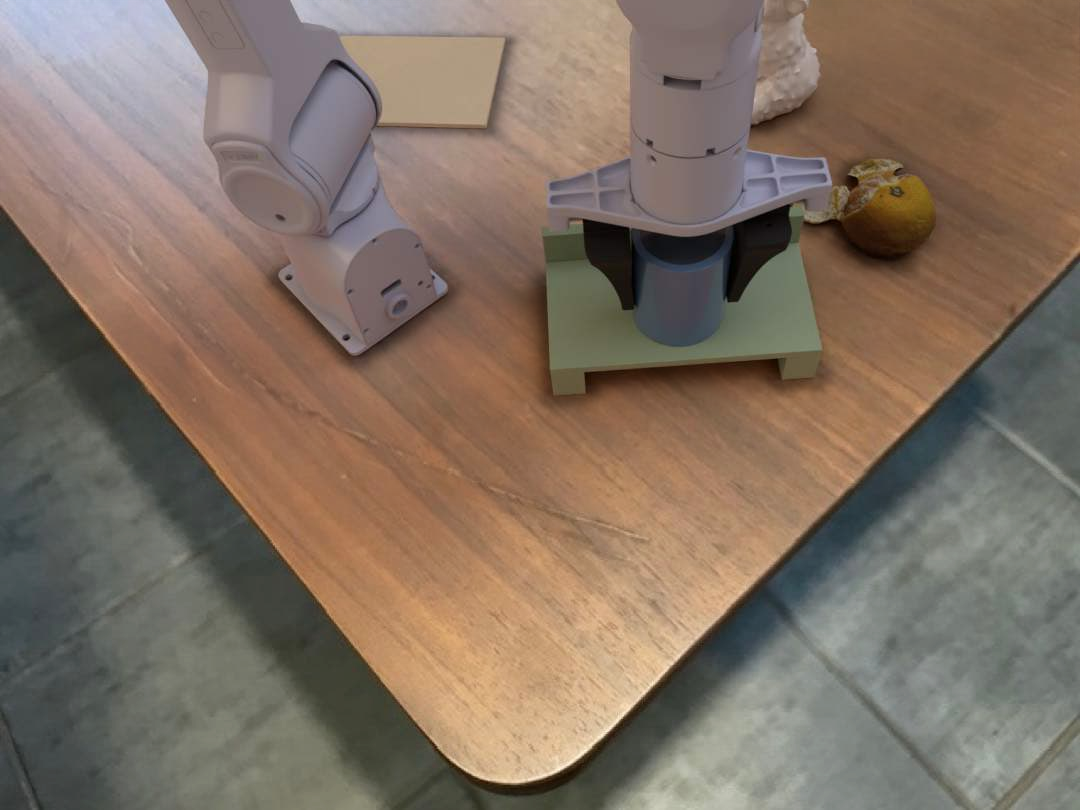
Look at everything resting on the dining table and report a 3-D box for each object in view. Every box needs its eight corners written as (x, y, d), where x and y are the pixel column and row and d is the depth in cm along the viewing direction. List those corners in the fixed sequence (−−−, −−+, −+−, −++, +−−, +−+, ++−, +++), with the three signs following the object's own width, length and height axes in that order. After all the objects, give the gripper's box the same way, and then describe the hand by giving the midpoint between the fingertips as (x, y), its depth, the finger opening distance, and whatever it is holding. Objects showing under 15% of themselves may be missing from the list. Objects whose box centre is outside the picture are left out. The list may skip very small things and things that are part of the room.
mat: (505, 41, 78) (505, 37, 77) (486, 128, 73) (485, 124, 72) (293, 38, 80) (292, 34, 80) (260, 123, 75) (258, 119, 75)
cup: (743, 309, 58) (756, 231, 52) (677, 363, 57) (682, 288, 51) (677, 258, 61) (682, 178, 55) (612, 308, 59) (609, 231, 53)
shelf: (814, 377, 59) (830, 324, 54) (553, 396, 60) (546, 345, 55) (790, 263, 63) (802, 205, 59) (548, 282, 64) (541, 226, 60)
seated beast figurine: (698, 53, 75) (708, -95, 65) (812, 52, 74) (840, -99, 64) (697, 139, 70) (708, -6, 60) (819, 140, 69) (850, -8, 59)
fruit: (876, 155, 68) (887, 115, 65) (963, 227, 64) (980, 188, 61) (783, 207, 66) (790, 168, 63) (866, 285, 62) (878, 248, 59)
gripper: (829, 46, 47) (791, 232, 59) (536, 73, 48) (555, 250, 60) (858, 148, 44) (811, 325, 55) (540, 175, 44) (560, 343, 56)
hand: (679, 293), depth 57 cm, fingers closed on cup, 5 cm apart
